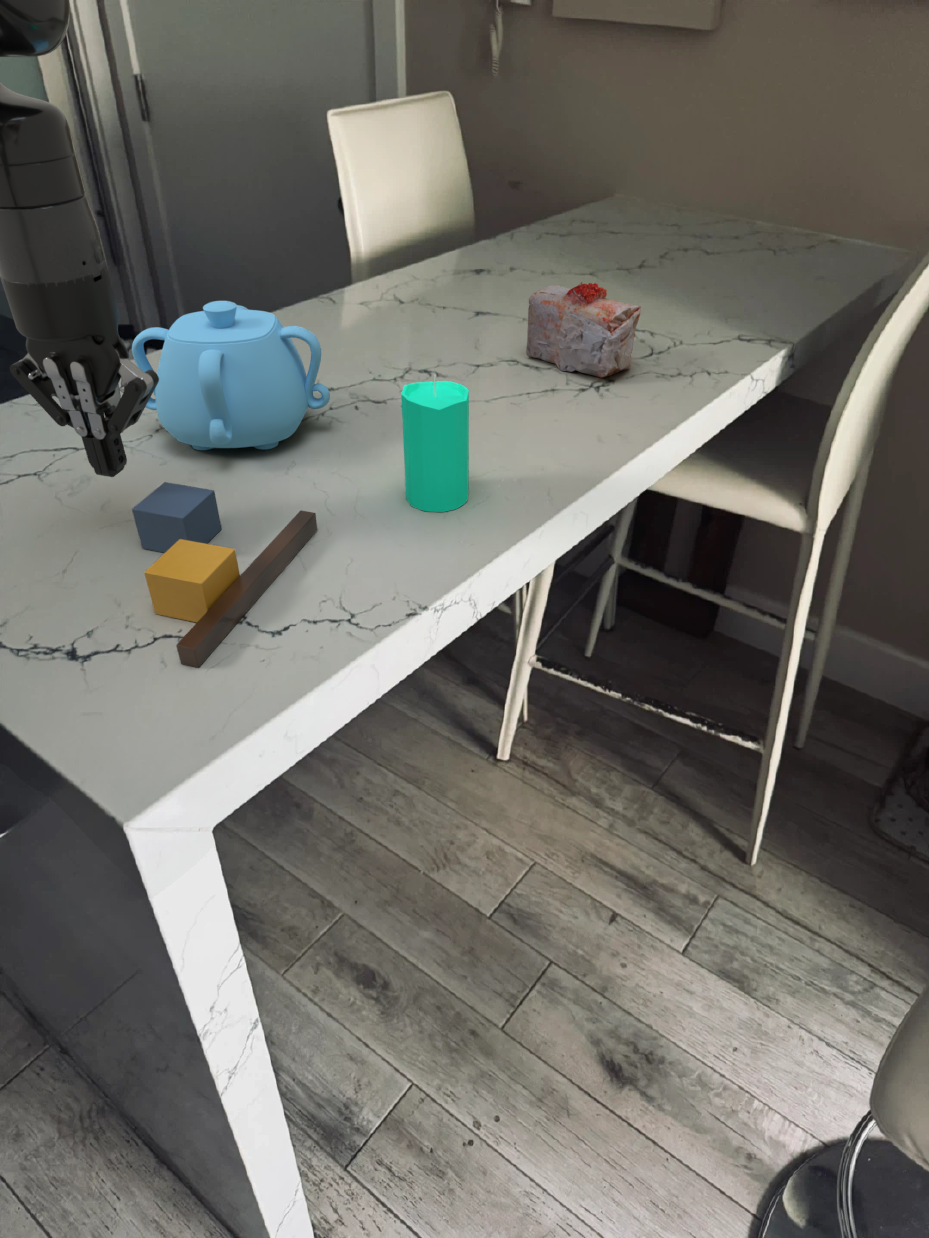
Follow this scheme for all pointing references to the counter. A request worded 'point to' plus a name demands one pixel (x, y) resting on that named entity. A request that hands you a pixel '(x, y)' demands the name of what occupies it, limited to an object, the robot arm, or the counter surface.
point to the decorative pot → (231, 377)
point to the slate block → (176, 516)
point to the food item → (581, 329)
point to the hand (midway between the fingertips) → (111, 472)
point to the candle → (436, 444)
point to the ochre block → (190, 579)
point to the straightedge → (245, 590)
